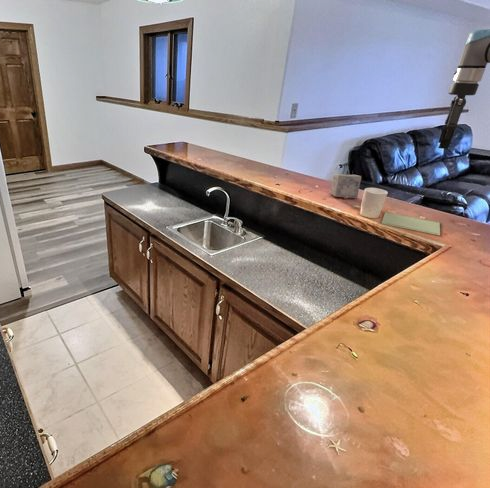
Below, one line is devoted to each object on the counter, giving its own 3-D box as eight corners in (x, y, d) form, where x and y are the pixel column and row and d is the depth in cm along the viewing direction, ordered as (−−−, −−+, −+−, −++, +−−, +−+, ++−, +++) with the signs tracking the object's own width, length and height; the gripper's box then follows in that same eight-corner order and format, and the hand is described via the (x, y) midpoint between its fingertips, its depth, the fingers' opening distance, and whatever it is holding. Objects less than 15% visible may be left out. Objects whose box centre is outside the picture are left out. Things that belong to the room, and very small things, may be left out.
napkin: (439, 223, 132) (439, 222, 132) (439, 235, 121) (440, 235, 121) (385, 212, 141) (385, 211, 141) (381, 223, 130) (381, 222, 130)
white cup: (360, 217, 135) (367, 193, 131) (355, 210, 142) (362, 186, 138) (382, 219, 134) (390, 194, 129) (376, 212, 141) (384, 188, 136)
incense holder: (350, 194, 161) (356, 172, 156) (356, 200, 154) (363, 177, 149) (328, 193, 162) (333, 171, 158) (333, 199, 155) (339, 176, 150)
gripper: (450, 81, 131) (430, 139, 140) (453, 82, 112) (430, 149, 122) (476, 82, 127) (453, 141, 136) (483, 83, 108) (456, 152, 118)
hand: (442, 145), depth 129 cm, fingers open, 13 cm apart
